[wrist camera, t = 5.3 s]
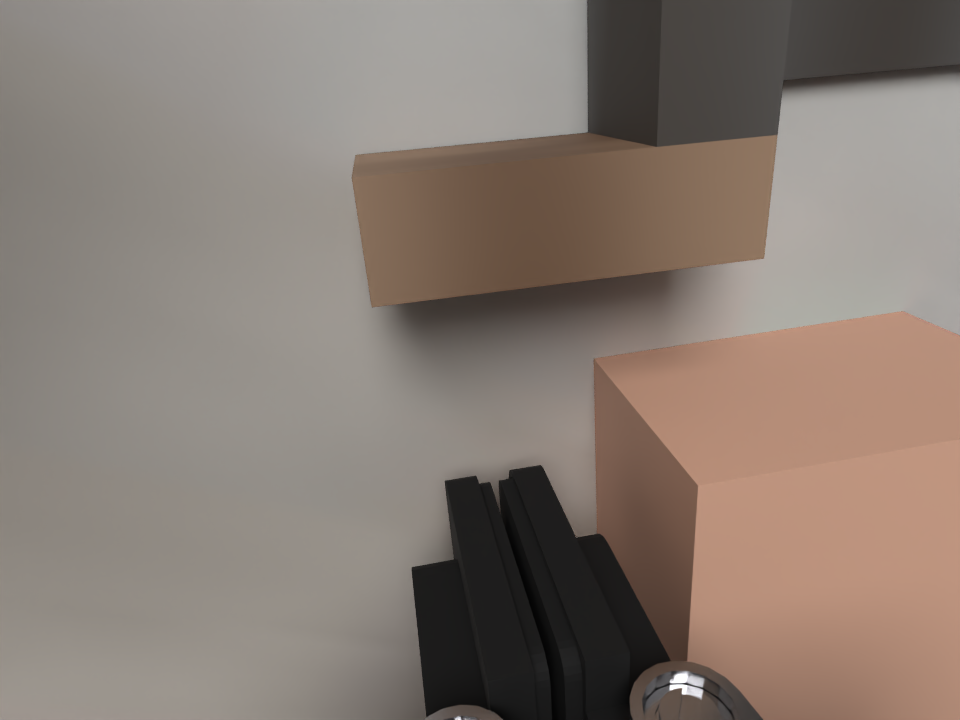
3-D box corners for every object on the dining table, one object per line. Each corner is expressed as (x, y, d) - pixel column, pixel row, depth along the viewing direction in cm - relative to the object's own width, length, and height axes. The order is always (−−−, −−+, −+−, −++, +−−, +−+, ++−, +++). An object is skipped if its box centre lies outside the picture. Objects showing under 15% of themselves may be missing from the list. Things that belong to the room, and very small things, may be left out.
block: (899, 310, 12) (1130, 408, 8) (851, 558, 14) (1014, 717, 11) (591, 356, 11) (697, 485, 8) (596, 608, 14) (678, 797, 10)
